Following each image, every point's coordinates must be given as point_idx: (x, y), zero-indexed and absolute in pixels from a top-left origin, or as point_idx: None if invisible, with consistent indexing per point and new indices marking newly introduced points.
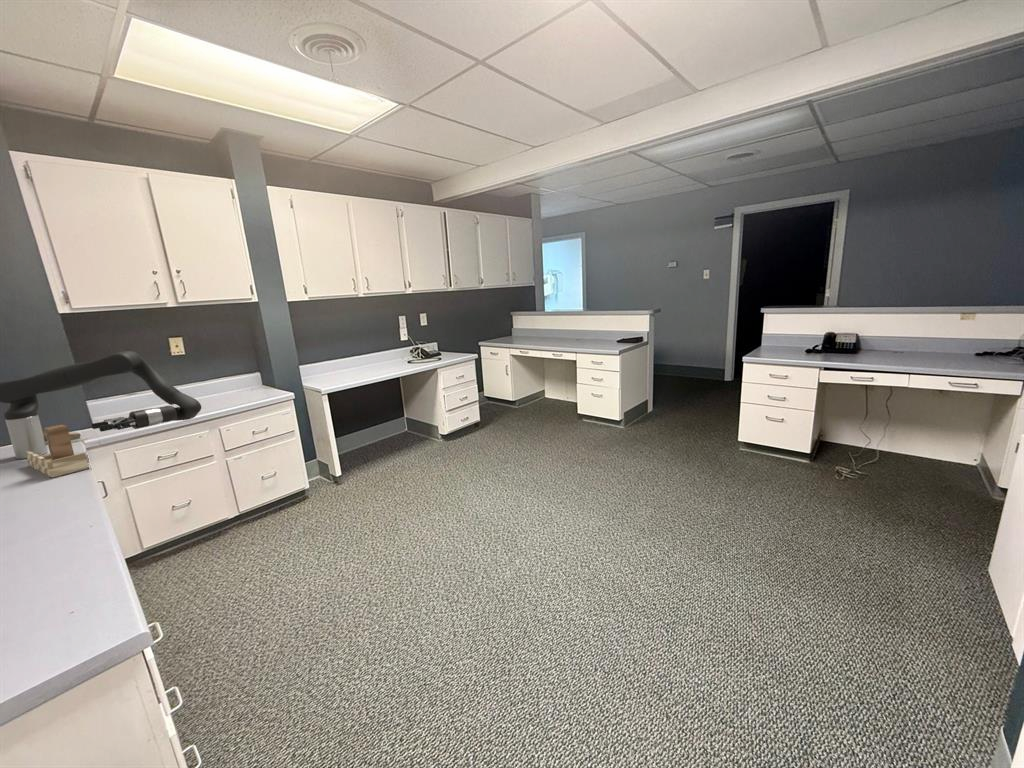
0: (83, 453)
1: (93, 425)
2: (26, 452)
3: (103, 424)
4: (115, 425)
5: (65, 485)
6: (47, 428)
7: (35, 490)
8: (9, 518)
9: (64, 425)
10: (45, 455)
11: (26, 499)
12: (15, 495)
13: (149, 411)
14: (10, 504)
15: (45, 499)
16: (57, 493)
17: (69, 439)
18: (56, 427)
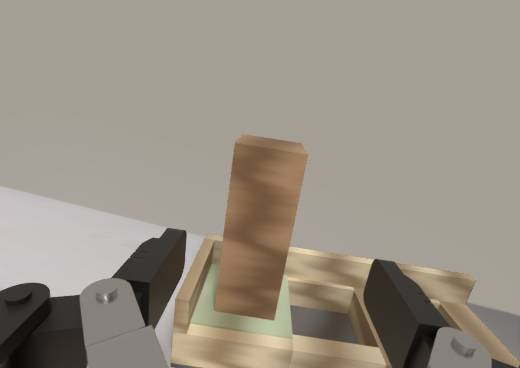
0: (179, 294)
1: (373, 275)
2: (455, 273)
3: (403, 344)
4: (59, 300)
5: (73, 265)
6: (274, 140)
7: (136, 243)
8: (25, 192)
9: (268, 147)
10: (475, 329)
11: (92, 222)
12: (153, 229)
13: None
14: (102, 212)
15: (33, 224)
16: (35, 240)
17: (226, 212)
18: (254, 140)
